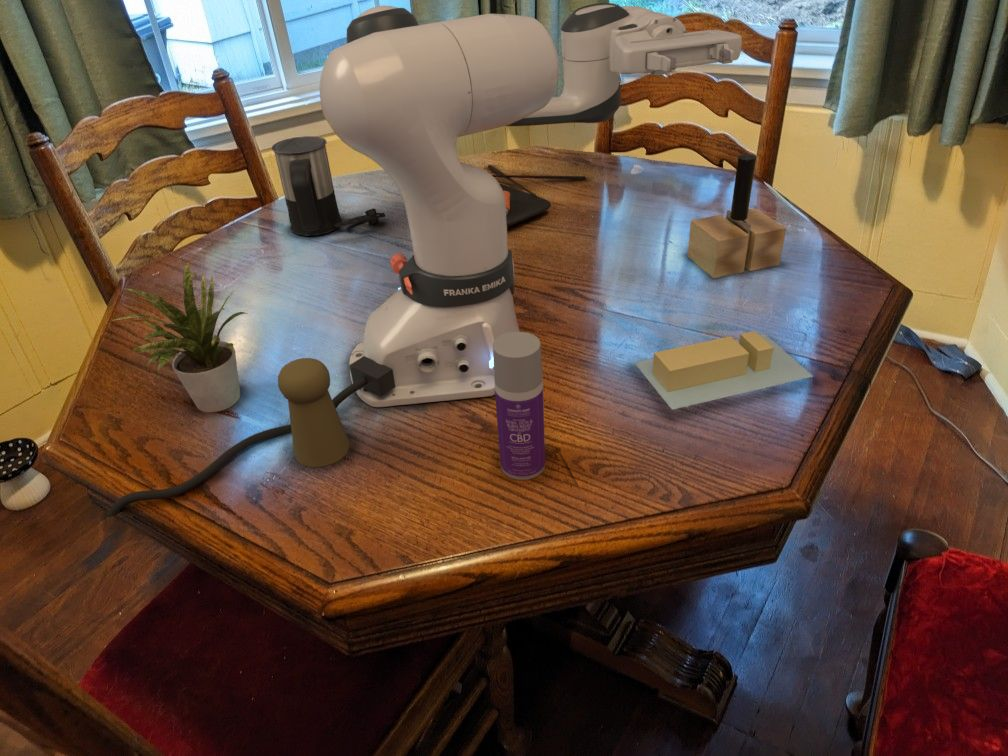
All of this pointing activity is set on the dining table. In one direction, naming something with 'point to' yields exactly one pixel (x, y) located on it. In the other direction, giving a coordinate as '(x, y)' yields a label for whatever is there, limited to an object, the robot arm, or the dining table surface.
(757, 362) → the butter pat
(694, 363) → the butter stick
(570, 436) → the dining table surface
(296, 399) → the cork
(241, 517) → the dining table surface
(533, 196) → the sushi plate
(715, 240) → the knife block
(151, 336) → the house plant
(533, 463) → the container
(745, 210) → the knife
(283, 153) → the milk frother
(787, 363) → the butter dish
